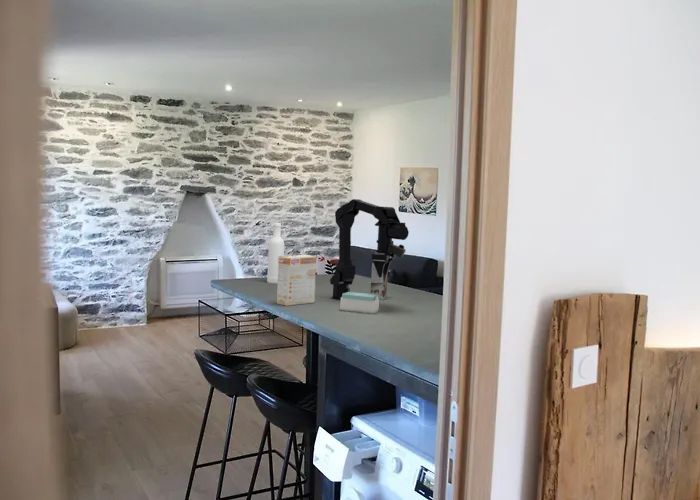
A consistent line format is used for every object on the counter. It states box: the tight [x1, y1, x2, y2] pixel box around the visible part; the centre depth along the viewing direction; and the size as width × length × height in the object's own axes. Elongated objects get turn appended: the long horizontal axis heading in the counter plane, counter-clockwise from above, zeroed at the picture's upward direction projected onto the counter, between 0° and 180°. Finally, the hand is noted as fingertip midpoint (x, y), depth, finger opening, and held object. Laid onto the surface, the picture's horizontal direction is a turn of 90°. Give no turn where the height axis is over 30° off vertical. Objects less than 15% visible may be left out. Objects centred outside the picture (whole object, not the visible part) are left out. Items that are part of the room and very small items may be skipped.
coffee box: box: [369, 262, 389, 301], centre depth 276 cm, size 9×6×16 cm
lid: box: [342, 291, 378, 301], centre depth 242 cm, size 12×7×2 cm, turn 72°
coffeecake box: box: [276, 254, 317, 307], centre depth 252 cm, size 15×7×20 cm, turn 135°
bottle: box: [266, 222, 285, 285], centre depth 308 cm, size 8×8×30 cm
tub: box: [339, 293, 380, 315], centre depth 242 cm, size 14×6×6 cm, turn 72°
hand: (382, 276), depth 250 cm, fingers open, 9 cm apart
